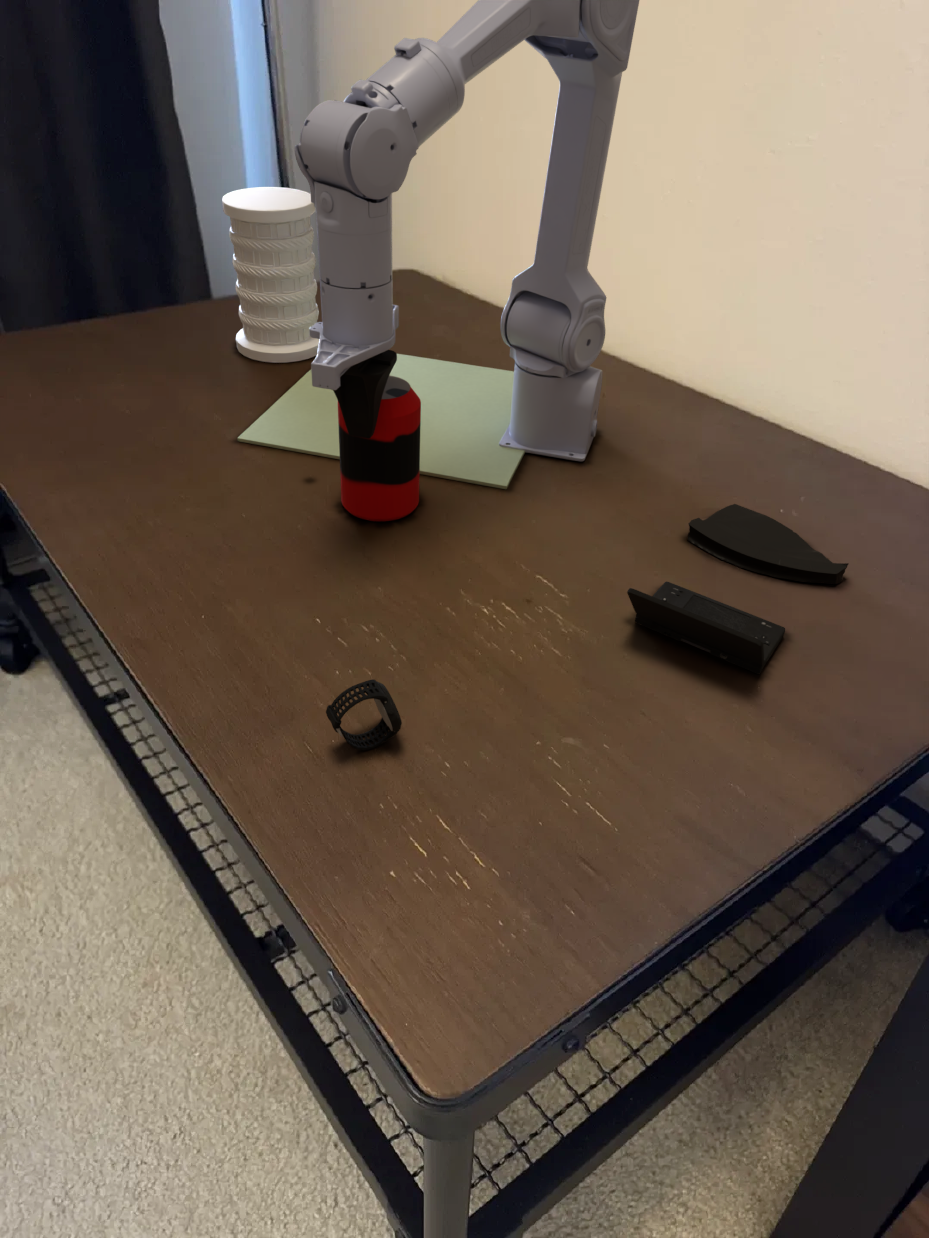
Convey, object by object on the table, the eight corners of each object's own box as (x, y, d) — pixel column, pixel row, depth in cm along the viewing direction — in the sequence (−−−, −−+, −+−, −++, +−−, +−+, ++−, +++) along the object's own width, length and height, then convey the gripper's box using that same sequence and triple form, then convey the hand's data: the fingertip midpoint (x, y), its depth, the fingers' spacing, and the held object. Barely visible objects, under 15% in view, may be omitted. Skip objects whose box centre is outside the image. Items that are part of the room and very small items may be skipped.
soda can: (388, 531, 85) (387, 411, 77) (325, 506, 88) (319, 388, 81) (433, 499, 90) (437, 384, 83) (373, 477, 93) (371, 364, 86)
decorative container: (320, 364, 114) (310, 214, 103) (228, 361, 114) (208, 209, 103) (331, 330, 123) (323, 188, 112) (246, 326, 123) (230, 184, 112)
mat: (561, 381, 113) (561, 378, 113) (506, 489, 92) (506, 486, 92) (337, 347, 119) (337, 344, 119) (237, 441, 98) (237, 437, 98)
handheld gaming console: (791, 605, 75) (789, 562, 66) (773, 687, 74) (768, 654, 65) (655, 582, 80) (636, 539, 71) (635, 659, 78) (614, 625, 70)
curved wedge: (806, 607, 78) (811, 592, 77) (681, 538, 86) (684, 524, 85) (856, 571, 83) (861, 557, 82) (733, 509, 90) (736, 495, 89)
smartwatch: (402, 759, 63) (402, 707, 60) (327, 761, 62) (323, 709, 59) (400, 717, 66) (400, 665, 63) (329, 719, 65) (325, 667, 62)
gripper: (343, 246, 78) (349, 394, 86) (268, 299, 66) (283, 464, 75) (421, 256, 76) (420, 406, 85) (358, 312, 65) (363, 479, 73)
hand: (361, 434), depth 80 cm, fingers closed
